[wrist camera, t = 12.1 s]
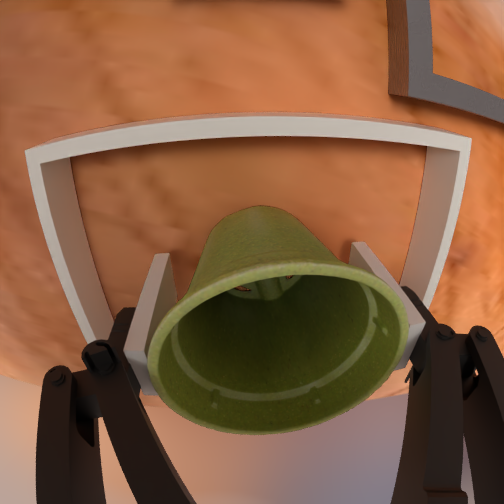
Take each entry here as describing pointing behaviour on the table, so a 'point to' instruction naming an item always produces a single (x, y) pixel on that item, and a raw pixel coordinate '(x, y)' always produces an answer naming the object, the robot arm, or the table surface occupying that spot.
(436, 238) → the gray rectangular frame
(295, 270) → the plant pot
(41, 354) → the table surface
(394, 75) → the gray divided frame
